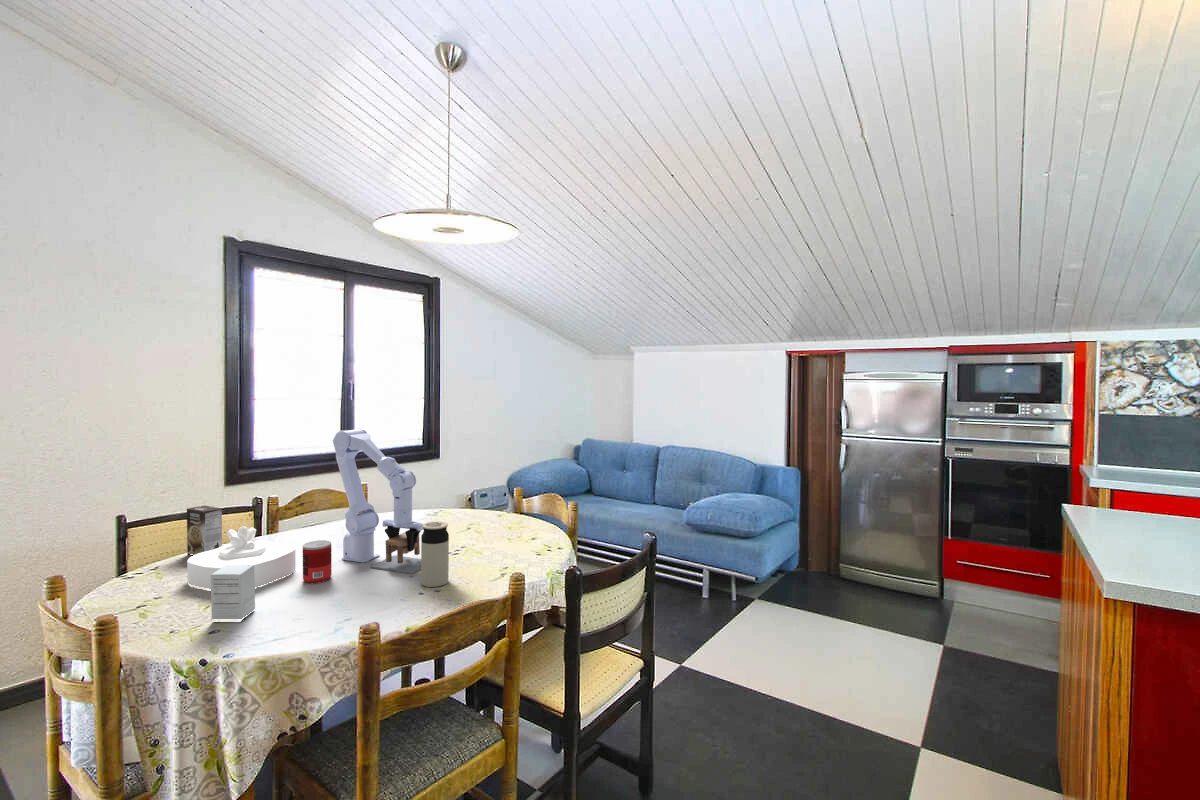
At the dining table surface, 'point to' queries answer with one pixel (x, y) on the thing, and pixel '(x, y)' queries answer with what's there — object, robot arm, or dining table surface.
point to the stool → (400, 547)
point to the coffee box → (203, 529)
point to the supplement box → (232, 592)
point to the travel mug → (434, 554)
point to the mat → (400, 565)
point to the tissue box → (243, 559)
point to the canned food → (317, 561)
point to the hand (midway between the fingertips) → (402, 549)
